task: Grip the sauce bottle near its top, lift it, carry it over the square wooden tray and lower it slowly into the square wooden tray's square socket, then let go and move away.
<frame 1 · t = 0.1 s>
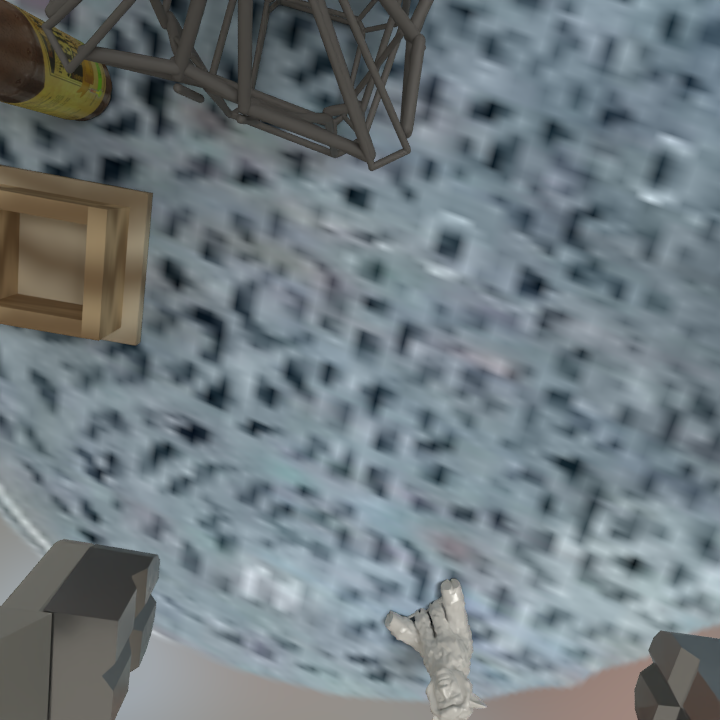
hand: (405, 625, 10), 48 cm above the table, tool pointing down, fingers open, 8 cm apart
grey piece: (438, 619, 67), on the table
square wooden tray: (70, 256, 56), on the table
sauce bottle: (79, 82, 52), on the table
geometric lantern: (319, 65, 51), on the table
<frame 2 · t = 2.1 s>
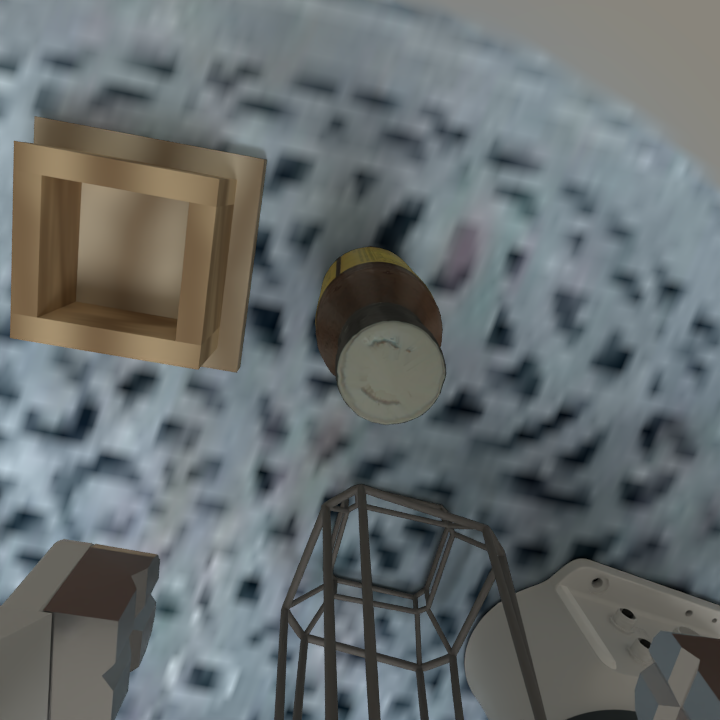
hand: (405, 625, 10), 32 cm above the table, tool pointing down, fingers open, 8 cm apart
square wooden tray: (147, 249, 40), on the table
sauce bottle: (370, 289, 41), on the table
geometric lantern: (387, 553, 47), on the table
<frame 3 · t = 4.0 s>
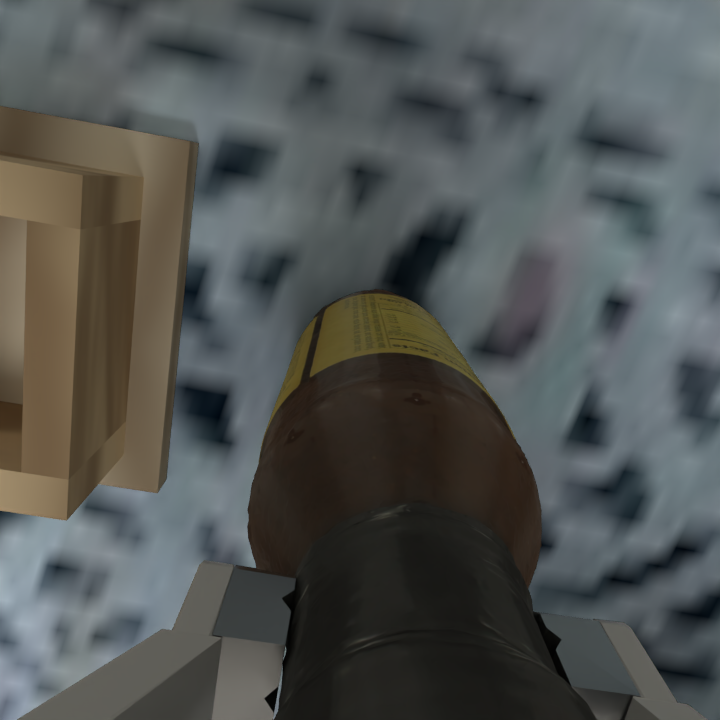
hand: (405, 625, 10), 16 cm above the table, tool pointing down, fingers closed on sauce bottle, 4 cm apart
square wooden tray: (4, 294, 24), on the table
sauce bottle: (376, 356, 25), on the table, touching gripper
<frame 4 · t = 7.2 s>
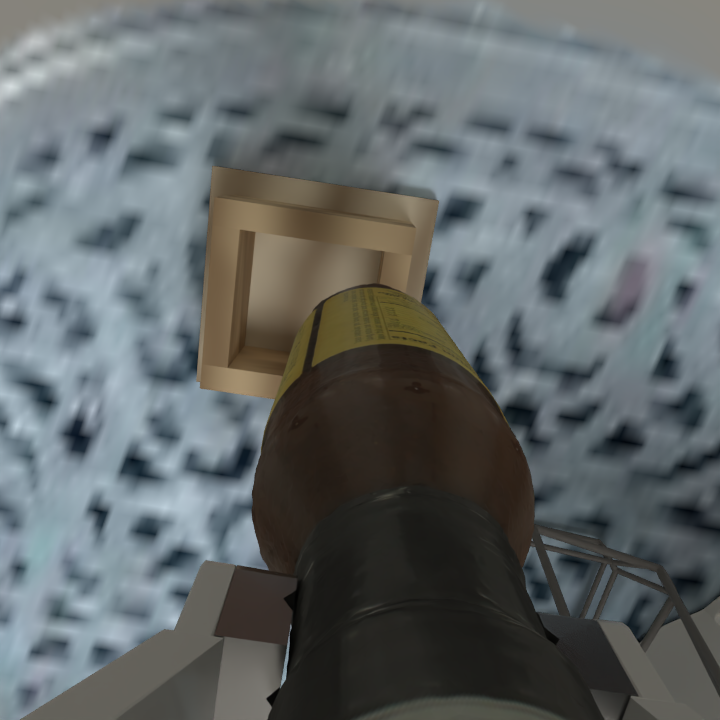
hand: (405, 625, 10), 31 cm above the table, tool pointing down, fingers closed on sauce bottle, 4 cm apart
square wooden tray: (313, 292, 40), on the table
sauce bottle: (373, 349, 25), point 15 cm above the table, touching gripper
geometric lantern: (539, 586, 46), on the table
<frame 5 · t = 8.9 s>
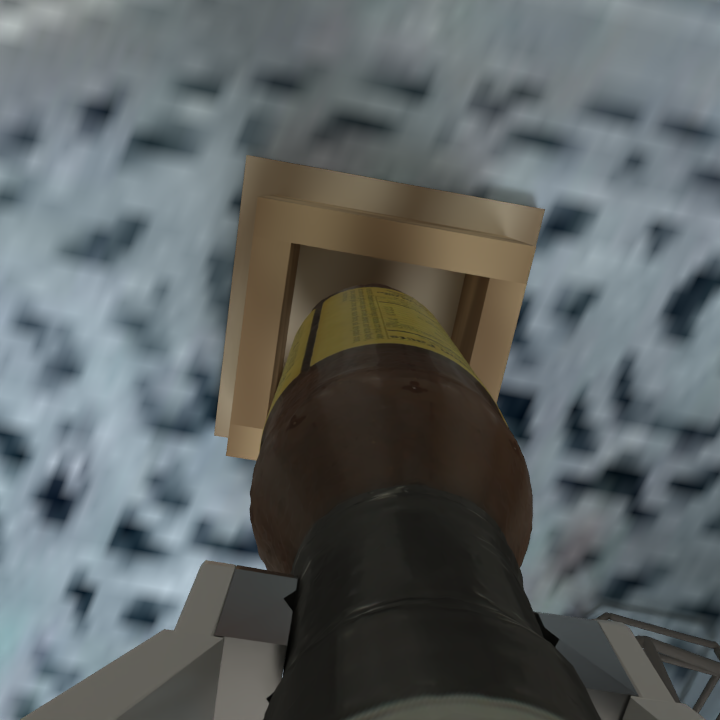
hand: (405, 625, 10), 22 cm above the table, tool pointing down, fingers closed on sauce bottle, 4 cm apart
square wooden tray: (370, 323, 31), on the table
sauce bottle: (372, 349, 25), point 6 cm above the table, touching gripper
geometric lantern: (632, 690, 37), on the table, touching arm
when the fingers open (18 cm above the table, at t = 10.2 s): sauce bottle stays where it is, resting on square wooden tray.
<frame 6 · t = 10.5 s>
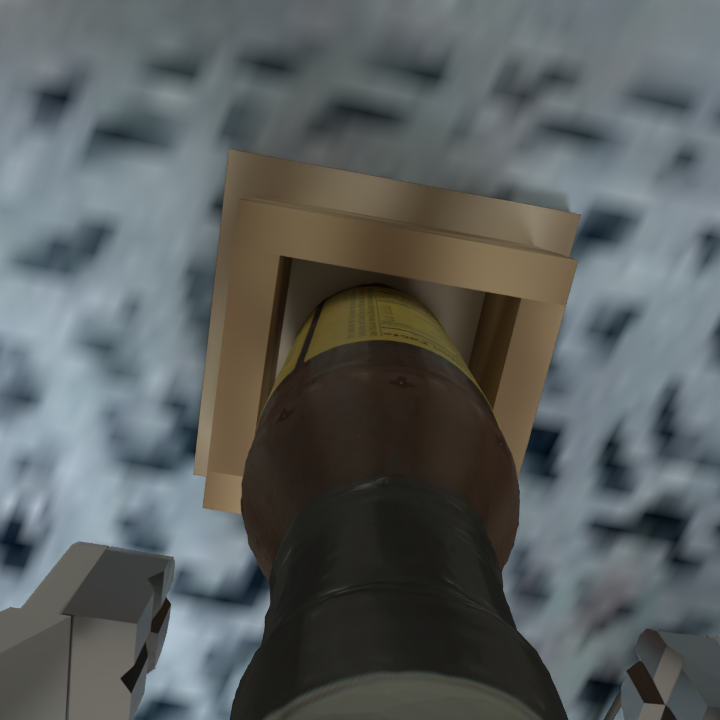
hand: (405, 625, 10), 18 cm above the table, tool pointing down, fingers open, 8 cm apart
square wooden tray: (374, 345, 27), on the table
sauce bottle: (374, 348, 26), point 1 cm above the table, touching square wooden tray
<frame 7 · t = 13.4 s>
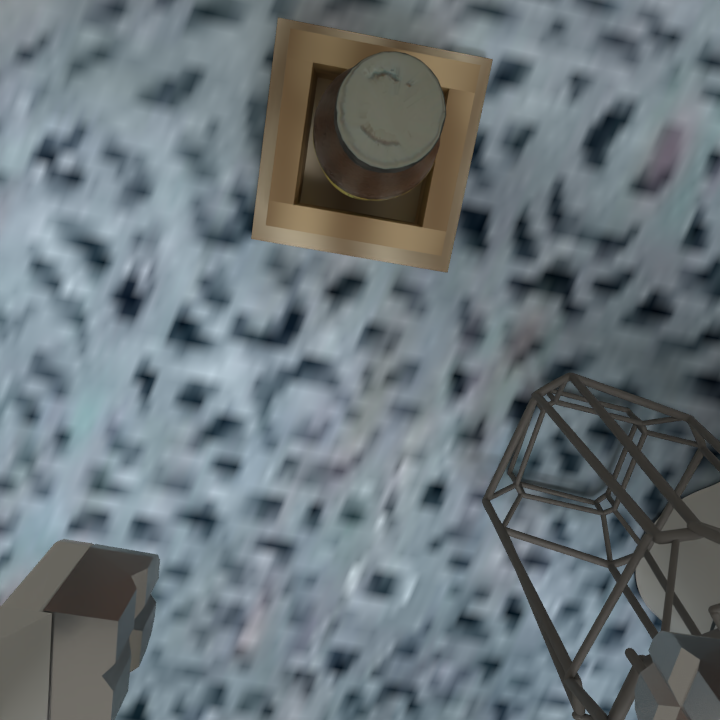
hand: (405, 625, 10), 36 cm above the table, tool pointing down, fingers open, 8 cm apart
square wooden tray: (367, 153, 42), on the table
sauce bottle: (367, 150, 41), point 1 cm above the table, touching square wooden tray
geometric lantern: (570, 458, 48), on the table, touching arm
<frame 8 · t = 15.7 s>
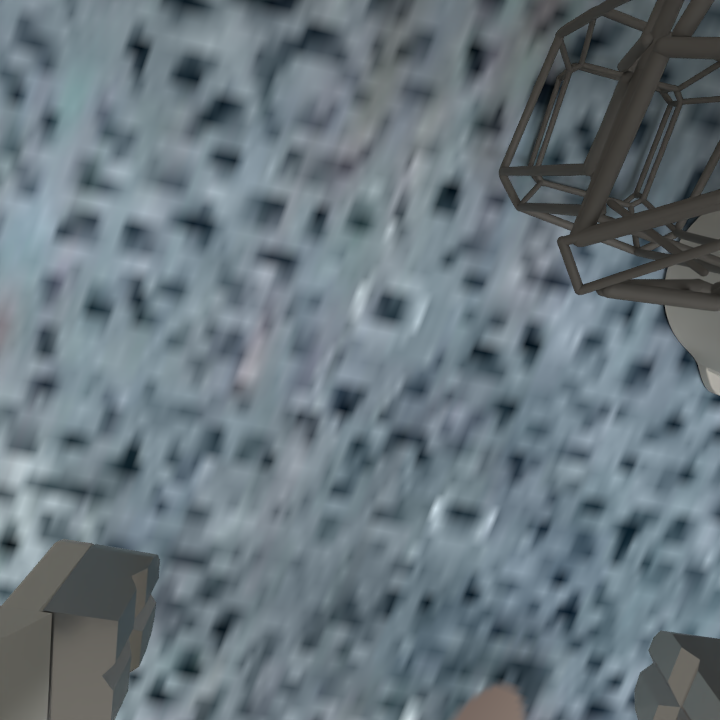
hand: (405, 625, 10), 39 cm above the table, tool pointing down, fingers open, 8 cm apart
geometric lantern: (596, 152, 45), on the table, touching arm
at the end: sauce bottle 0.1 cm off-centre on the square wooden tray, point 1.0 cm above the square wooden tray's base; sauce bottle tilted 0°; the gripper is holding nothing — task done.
